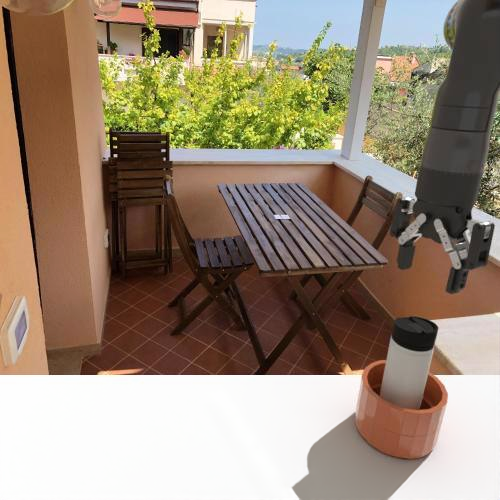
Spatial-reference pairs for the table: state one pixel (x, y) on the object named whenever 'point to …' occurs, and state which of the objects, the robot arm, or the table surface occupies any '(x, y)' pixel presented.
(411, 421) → the planter
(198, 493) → the table surface
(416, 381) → the travel mug
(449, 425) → the table surface
